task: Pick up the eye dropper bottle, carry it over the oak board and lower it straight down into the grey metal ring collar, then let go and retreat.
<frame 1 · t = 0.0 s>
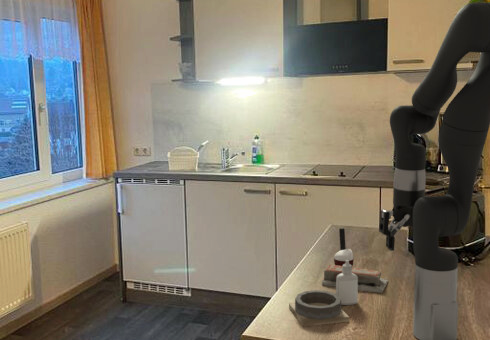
hand: (406, 248, 135), 17 cm above the countertop, tool pointing down, fingers open, 8 cm apart
collar board: (318, 314, 138), on the countertop
packaged product: (354, 285, 159), on the countertop
red-capped knob on stick: (344, 269, 172), on the countertop
eye dropper bottle: (346, 303, 145), on the countertop
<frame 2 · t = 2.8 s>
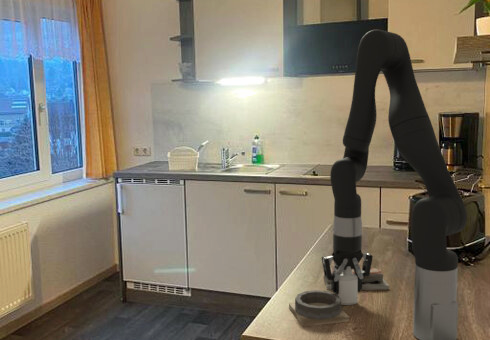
hand: (346, 292, 144), 3 cm above the countertop, tool pointing down, fingers closed on eye dropper bottle, 5 cm apart
eye dropper bottle: (346, 303, 145), on the countertop, touching gripper
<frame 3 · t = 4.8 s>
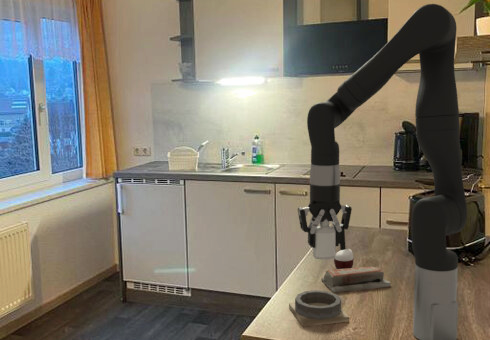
hand: (324, 246, 137), 18 cm above the countertop, tool pointing down, fingers closed on eye dropper bottle, 5 cm apart
eye dropper bottle: (324, 258, 137), point 14 cm above the countertop, touching gripper
when the fingers open (6 cm above the countertop, at t = 7.0 s): eye dropper bottle drops 2 cm, resting on collar board.
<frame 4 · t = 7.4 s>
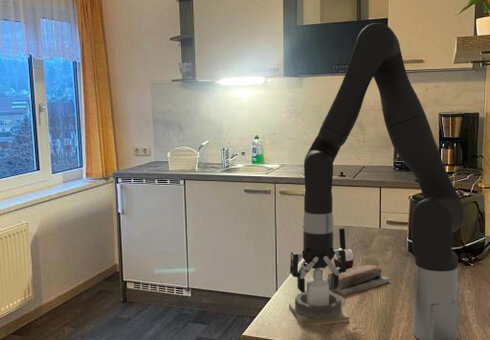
hand: (318, 289, 137), 7 cm above the countertop, tool pointing down, fingers open, 8 cm apart
eye dropper bottle: (317, 310, 138), point 1 cm above the countertop, touching collar board
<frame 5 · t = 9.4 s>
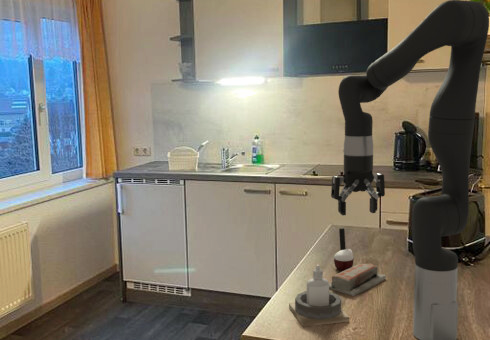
hand: (357, 213, 141), 25 cm above the countertop, tool pointing down, fingers open, 8 cm apart
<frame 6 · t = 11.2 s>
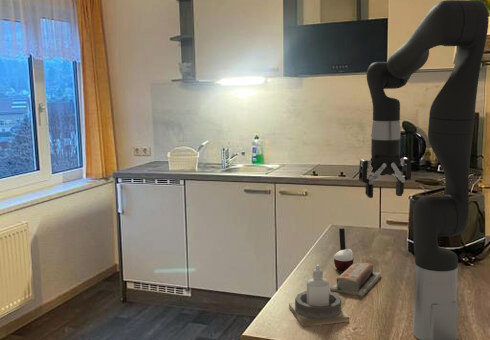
hand: (384, 196, 146), 28 cm above the countertop, tool pointing down, fingers open, 8 cm apart
at the end: eye dropper bottle 0.1 cm from the collar board (horizontally); eye dropper bottle point 1.0 cm above the countertop; eye dropper bottle tilted 0° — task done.
